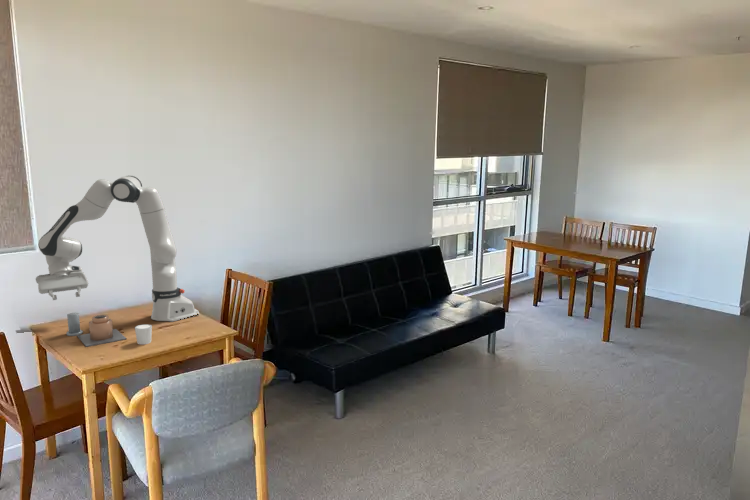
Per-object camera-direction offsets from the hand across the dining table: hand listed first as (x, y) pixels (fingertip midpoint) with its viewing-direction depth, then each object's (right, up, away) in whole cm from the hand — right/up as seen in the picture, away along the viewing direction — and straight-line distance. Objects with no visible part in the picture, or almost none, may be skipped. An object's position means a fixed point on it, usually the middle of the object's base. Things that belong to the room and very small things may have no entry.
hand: (66, 297), depth 259 cm
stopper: (+7, -15, -6) cm, 18 cm away
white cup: (+41, -18, -15) cm, 47 cm away
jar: (+21, -17, -11) cm, 29 cm away
